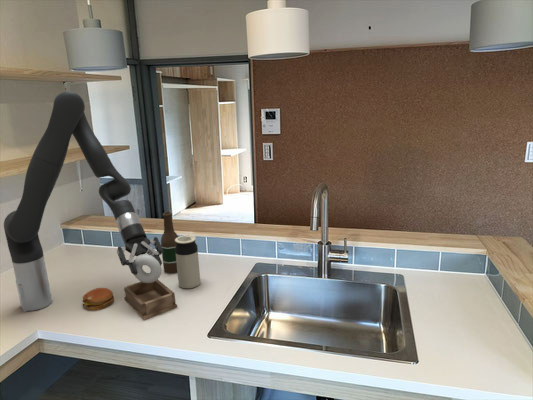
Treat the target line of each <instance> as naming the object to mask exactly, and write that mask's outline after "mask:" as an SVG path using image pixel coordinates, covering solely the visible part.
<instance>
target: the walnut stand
mask: <svg viewBox="0 0 533 400" xmlns="http://www.w3.org/2000/svg"><path fill="white" fill-rule="evenodd" d="M123 291H124V297H123V298H124V301H125V302H126V304H128V305H129V306H130V307H131V308H132V310H134V311H135V312H136V314H137V315H138V316H139V317H140V318H141V319H142V320H143V321H145V320H148V319H150V318H153V317H156V316H158V315H159V316H160V315H161V314H164V313H166V312H169V311H171V310H175V309H177V308H178V304H177V303H176V295H175V292H174V291H173V290H171V288H170V287H168V286H166V284H164V283H163V282H162V281H160V280H159V278H158V279H157V280H156V281H154V282H152V283H143V282H141V281H138V282H135V283H132V284H129V285H127V286H125V287H124V289H123Z"/></svg>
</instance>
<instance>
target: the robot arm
mask: <svg viewBox="0 0 533 400" xmlns="http://www.w3.org/2000/svg"><path fill="white" fill-rule="evenodd" d="M85 106H86V105H85V102H84V99H83V98H82V97H81V96H80V94H78V93H77V92H74V91H71V90H70V91H69V90H65V91H62V92H60V93H59V94H57V95H56V96H55V98H54V100H53V106H52V109H51V110H52V111H51V114H50V118H49V121H48V124H47V128H46V129H45V131H44V133H43V135H42V136H41V138H40V140H39V141H38V144H37V146H36V147H35V150H34V152H33V154H32V157H31V158H30V161H29V163H28V167H27V170H26V173H25V178H24V185H23V191H22V196H21V198H20V202H19V204H18V205H17V208H16V209H15V210H13V211H12V212H10V213H8V214H7V215H6V217H5V219H4V221H3V228H4V234H5V238H6V244H7V248H8V251H9V254H10V257H11V262H12V268H13V271H14V276H15V284H16V288H17V294H18V297H19V302H20V306H21V309H22V311H23V313H25V312H32V311H37V310H41V309H44V308H46V307H48V306H49V305H51V304H52V302H53V297H52V291H51V288H50V282H49V276H48V271H47V266H46V261H45V255H44V251H43V250H44V249H43V246H42V243H41V240H40V237H39V231H40V228H41V224H42V220H43V216H44V213H45V209H46V206H47V204H48V200H49V198H50V197H51V195H52V192H53V190H54V188H55V186H56V183H57V181H58V178H59V176H60V174H61V171H62V169H63V166H64V163H65V160H66V157H67V153H68V149H69V145H70V141H71V138H72V136H73V137H74V138H75V141H76V143H77V145H78V146H79V148H80V150H81V152H82V154H83V157H84V158H85V160H86V162H87V164H88V166H89V167H90V169H91V171H92V173H93V174H94V176H95V177H96V178H97V179H99V178H100V179H101V178H106V177H111V178H112V179H111V180H110V181H108V182H105V183H103V184H101V185H100V186H99V188H98V195H99V197H100V198H101V199H102V200H103V201H104V203H106V204H107V206H108V207H109V209H110V210H111V212H112V214H113V217H114V220H115V221H116V226H117V229H118V233H119V235H120V236H121V239H122V241H123V244H124V246H118V247H117V250H116V253H117V255H118V259H119V261H120V264H121V266H122V267H123V266H128V268H129V271H130V273H131V274H132V275H133V276H134V275H137V273H138V272H137V269H136V267H135V264H134V262H133V261H134V258H135V257H139V256H141V255H149V256H152V257H154V258H155V259H156V260H158V262H159V263H160V266H161V267H162V265H163V260H162V259H161V257H160V256H162V252H163V249H162V247H161V241H159V238H158V237H157V236H154V237H153V238H151V239H149V238H148V236H147V234H146V231H145V230H144V227H143V225H142V222H141V220H140V218H139V216H138V215H137V213H136V211H135V208H134V206H133V203H132V201H130V200H128V199H122V198H124V197H126V196H128V195H129V194H130V193H131V191H132V189H131V188H132V187H131V184H130V183H129V182H128V180H127V179H125V177H124V176H122V174H121V173H120V172H119V171H118V170H117V169H116V168H115V167H116V166H114V164H113V162H112V161H111V159H110V157H109V155H108V153H107V152H106V150H105V148H104V147H103V145H102V144H101V142H100V140H99V139H98V137H97V136H96V135H95V133H94V132H93V131H94V130H92V128H91V126H90V124H89V122H88V118H87V117H86V113H85V110H86V109H85V108H86V107H85ZM119 199H122V200H119ZM151 245H152V246H154V247H152V246H151ZM154 248H155V249H154ZM125 251H126V252H128V253H129V254H130V255H129V258H128V259H127V258H126V256H125Z"/></svg>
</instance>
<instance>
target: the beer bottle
mask: <svg viewBox="0 0 533 400" xmlns="http://www.w3.org/2000/svg"><path fill="white" fill-rule="evenodd" d="M172 216H173V214H172V212H171V211H165V212H163V213H162V217H163V234H162V235H161V237H160V238H161V239H160V245H161V247H162V249H163V252H162V254H161V257H162V266H163V271H164V273H166V274H170V275H171V274H175V273H176V274H178V272H177V262H176V252H175V247H176V245H177V244H176V242H175V239H176V238H177V237H179V235H178V234H177V233H176V231H175V229H174V223H173V219H172Z"/></svg>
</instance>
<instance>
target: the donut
mask: <svg viewBox="0 0 533 400" xmlns="http://www.w3.org/2000/svg"><path fill="white" fill-rule="evenodd" d="M133 262H134V264H135V267H136V269H137V272H138V273H137V275H134V274H133V276H134V277H135V279H137V281H138V282H143V283H152V282H154V281H156V280H157V279H158V280H159V278H160V276H161V275H162V265H161V266H160V263H159V262H158V260H156V259H155V258H154V257H153V256H151V255H148V254H143V255H139V256H136V258H135V259H133ZM143 266H147V267H148V268H149V269H150V272H146V271H144V269H143Z"/></svg>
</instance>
